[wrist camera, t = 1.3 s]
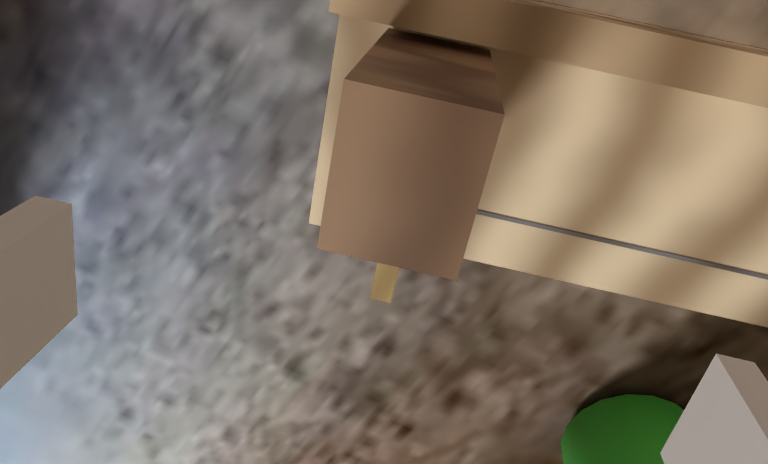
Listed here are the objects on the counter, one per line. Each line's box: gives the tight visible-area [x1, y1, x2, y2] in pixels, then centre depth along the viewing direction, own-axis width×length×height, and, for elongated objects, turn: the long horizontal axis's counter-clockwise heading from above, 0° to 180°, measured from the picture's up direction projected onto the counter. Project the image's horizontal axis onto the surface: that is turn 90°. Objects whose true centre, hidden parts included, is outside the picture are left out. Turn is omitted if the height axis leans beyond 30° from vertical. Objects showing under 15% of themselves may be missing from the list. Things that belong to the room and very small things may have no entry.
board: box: [309, 0, 768, 327], centre depth 30 cm, size 30×14×4 cm, turn 80°
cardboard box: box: [317, 28, 505, 303], centre depth 27 cm, size 5×14×12 cm, turn 170°
